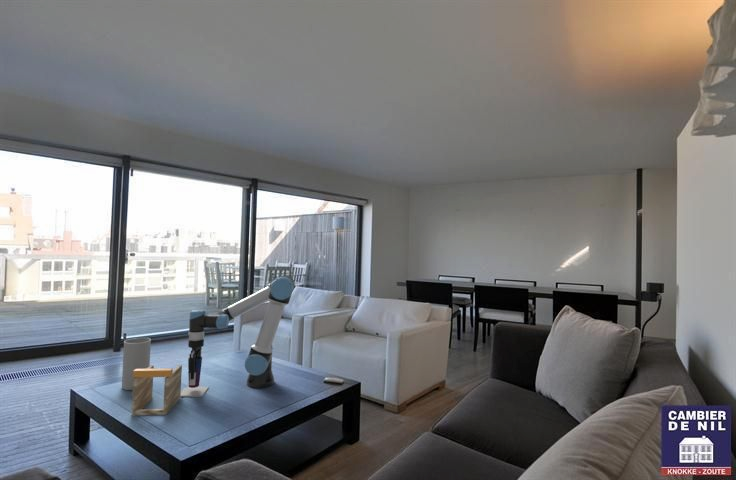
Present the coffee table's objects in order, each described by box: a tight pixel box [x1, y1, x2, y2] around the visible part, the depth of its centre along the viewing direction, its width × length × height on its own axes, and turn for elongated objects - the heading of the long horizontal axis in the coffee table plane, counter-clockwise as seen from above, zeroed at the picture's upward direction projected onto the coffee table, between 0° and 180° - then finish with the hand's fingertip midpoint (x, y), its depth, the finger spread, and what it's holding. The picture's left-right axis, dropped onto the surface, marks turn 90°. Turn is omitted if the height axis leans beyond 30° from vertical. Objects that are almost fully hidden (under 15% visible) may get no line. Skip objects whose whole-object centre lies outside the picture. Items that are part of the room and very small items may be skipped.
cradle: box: [131, 364, 183, 416], centre depth 184 cm, size 15×19×17 cm
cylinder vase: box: [121, 337, 152, 391], centre depth 207 cm, size 12×12×25 cm
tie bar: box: [133, 367, 174, 378], centre depth 177 cm, size 16×3×3 cm, turn 99°
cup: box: [187, 355, 203, 388], centre depth 202 cm, size 7×7×15 cm
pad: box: [180, 386, 209, 398], centre depth 202 cm, size 12×12×1 cm
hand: (194, 382), depth 202 cm, fingers closed on cup, 6 cm apart
